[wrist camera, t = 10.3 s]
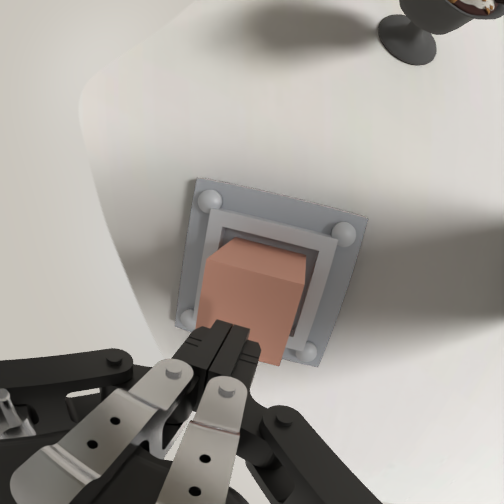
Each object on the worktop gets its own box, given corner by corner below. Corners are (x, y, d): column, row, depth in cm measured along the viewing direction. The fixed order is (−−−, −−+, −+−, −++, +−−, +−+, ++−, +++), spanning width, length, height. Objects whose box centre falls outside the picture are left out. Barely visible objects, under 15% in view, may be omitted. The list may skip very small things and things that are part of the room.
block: (306, 254, 20) (304, 284, 14) (287, 319, 21) (278, 366, 15) (235, 236, 20) (206, 258, 15) (222, 301, 22) (193, 340, 16)
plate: (364, 216, 19) (371, 220, 17) (317, 359, 23) (317, 374, 21) (202, 177, 21) (191, 177, 19) (180, 320, 24) (170, 332, 22)
